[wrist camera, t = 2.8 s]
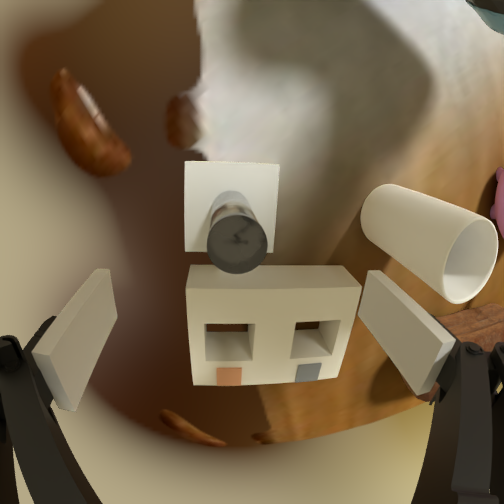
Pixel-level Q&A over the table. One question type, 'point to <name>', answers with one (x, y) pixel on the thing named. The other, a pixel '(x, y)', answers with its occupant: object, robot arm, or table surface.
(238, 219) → the plug
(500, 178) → the teapot
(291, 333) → the socket block
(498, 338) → the bread
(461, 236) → the cup
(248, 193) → the white flat square plate
